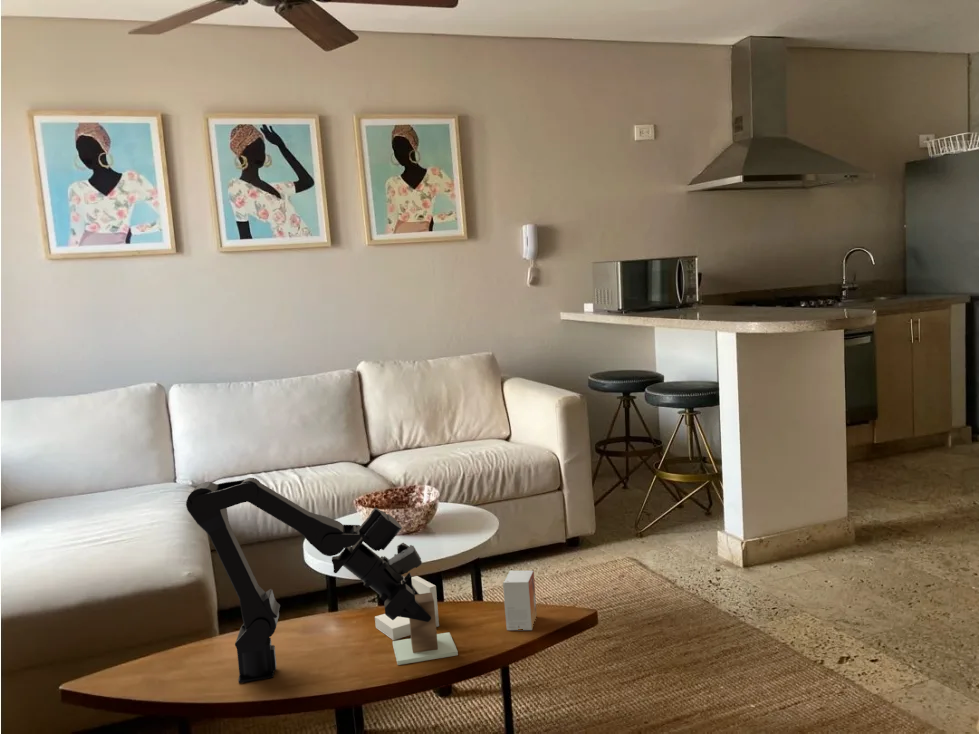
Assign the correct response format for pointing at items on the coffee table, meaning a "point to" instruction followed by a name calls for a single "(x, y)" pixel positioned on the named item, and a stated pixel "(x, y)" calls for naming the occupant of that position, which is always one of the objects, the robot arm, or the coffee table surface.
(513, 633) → the coffee table surface
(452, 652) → the pad
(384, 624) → the ledge
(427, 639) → the walnut block
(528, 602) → the small box
